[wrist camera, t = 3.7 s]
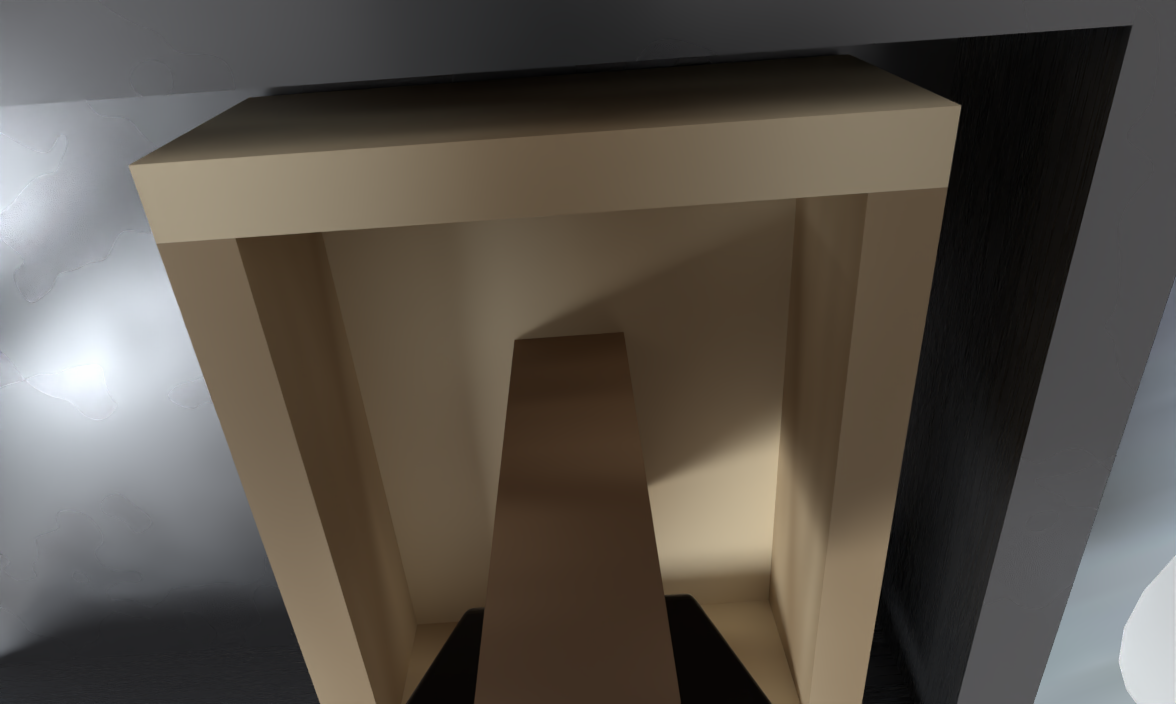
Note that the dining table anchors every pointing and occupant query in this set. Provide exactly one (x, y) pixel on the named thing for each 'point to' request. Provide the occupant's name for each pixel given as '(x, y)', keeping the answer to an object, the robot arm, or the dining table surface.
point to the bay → (545, 48)
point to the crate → (567, 363)
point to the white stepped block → (1152, 642)
